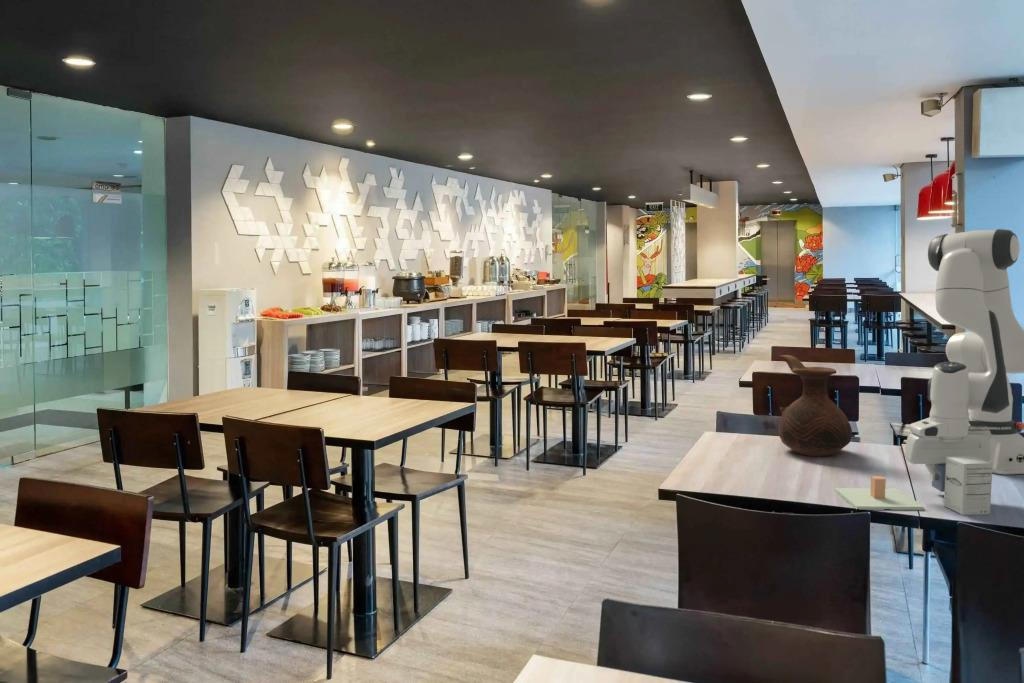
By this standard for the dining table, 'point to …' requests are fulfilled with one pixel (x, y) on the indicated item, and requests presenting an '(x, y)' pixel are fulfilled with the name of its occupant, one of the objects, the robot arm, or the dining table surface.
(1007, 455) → the robot arm
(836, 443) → the jug
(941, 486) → the blue-grey block
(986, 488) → the supplement box
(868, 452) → the dining table surface
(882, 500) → the post board
